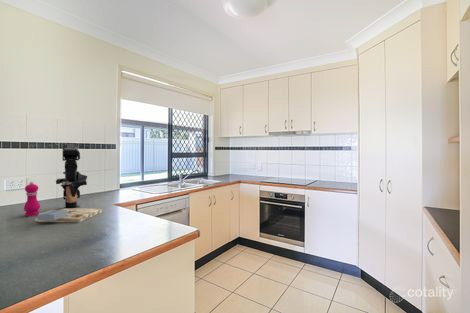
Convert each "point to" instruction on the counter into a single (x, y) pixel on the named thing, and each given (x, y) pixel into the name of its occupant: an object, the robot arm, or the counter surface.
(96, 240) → the counter surface
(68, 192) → the pin
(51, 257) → the counter surface
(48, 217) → the block
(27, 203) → the pepper mill
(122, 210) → the counter surface
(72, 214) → the pin board
